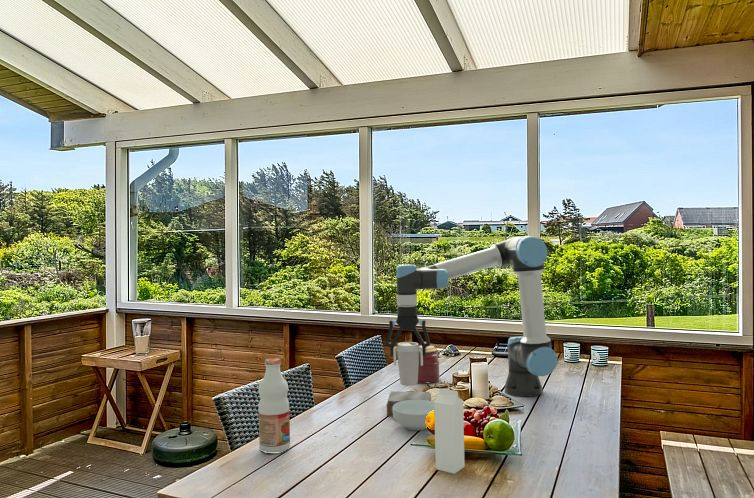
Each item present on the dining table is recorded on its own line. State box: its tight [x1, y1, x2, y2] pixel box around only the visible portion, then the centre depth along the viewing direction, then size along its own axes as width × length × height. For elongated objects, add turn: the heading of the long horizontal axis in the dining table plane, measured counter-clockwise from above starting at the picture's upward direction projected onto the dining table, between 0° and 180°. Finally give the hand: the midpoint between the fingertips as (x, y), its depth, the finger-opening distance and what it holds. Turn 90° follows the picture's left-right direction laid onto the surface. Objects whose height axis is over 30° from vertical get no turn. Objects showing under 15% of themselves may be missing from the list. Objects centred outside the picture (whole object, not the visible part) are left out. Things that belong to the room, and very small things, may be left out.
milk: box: [433, 388, 466, 475], centre depth 154 cm, size 6×6×22 cm
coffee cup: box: [395, 341, 421, 387], centre depth 208 cm, size 10×10×15 cm
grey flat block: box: [386, 391, 432, 417], centre depth 209 cm, size 16×14×5 cm
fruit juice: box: [258, 357, 291, 453], centre depth 172 cm, size 9×9×28 cm
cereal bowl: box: [392, 400, 434, 431], centre depth 190 cm, size 17×17×7 cm
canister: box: [417, 341, 440, 384], centre depth 253 cm, size 13×13×18 cm
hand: (408, 364), depth 208 cm, fingers closed on coffee cup, 9 cm apart
